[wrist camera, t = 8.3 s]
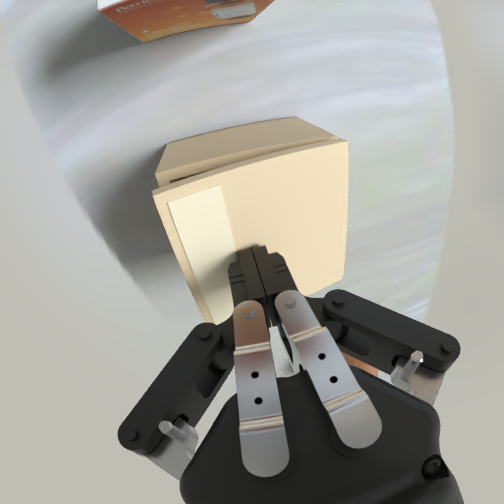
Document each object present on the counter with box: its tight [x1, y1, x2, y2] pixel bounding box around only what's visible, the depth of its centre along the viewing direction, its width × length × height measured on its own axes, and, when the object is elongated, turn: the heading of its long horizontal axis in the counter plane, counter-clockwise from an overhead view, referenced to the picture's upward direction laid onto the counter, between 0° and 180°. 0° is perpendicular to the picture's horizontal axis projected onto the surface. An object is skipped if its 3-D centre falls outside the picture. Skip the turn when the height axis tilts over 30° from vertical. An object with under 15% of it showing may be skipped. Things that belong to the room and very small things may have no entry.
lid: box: [152, 138, 348, 325], centre depth 15 cm, size 10×10×1 cm
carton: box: [155, 117, 337, 188], centre depth 19 cm, size 10×10×7 cm
